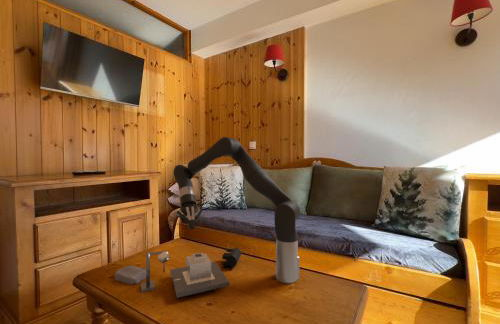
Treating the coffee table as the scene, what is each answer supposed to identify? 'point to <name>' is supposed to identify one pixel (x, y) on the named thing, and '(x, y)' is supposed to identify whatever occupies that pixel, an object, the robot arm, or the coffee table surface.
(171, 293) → the coffee table surface
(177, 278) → the grey flat square slab
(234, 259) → the end cap
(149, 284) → the dial indicator stand
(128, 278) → the stone block
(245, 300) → the coffee table surface
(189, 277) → the cover
